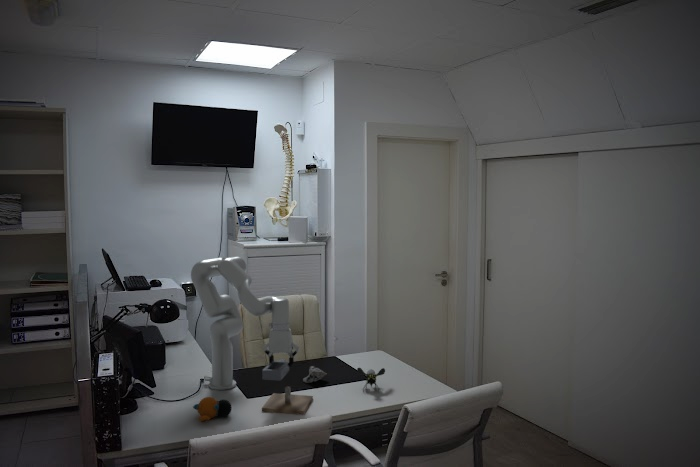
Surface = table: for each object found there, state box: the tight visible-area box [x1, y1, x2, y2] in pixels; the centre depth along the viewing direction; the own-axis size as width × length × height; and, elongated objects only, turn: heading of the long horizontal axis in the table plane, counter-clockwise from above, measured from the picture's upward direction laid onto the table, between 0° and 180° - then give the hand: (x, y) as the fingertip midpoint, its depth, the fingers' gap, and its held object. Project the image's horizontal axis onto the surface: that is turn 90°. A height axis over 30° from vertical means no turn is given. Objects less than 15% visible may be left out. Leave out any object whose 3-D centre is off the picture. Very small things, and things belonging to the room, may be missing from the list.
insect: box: [356, 367, 386, 393], centre depth 263 cm, size 13×16×10 cm
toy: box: [193, 396, 233, 422], centre depth 229 cm, size 12×10×15 cm
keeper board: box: [261, 386, 314, 415], centre depth 244 cm, size 18×17×8 cm
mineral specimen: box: [302, 365, 328, 384], centre depth 274 cm, size 10×8×10 cm
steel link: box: [261, 358, 290, 382], centre depth 245 cm, size 16×8×4 cm, turn 170°
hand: (281, 365), depth 251 cm, fingers closed on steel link, 8 cm apart
